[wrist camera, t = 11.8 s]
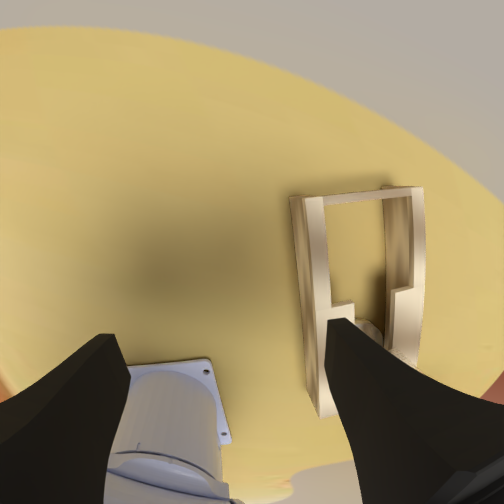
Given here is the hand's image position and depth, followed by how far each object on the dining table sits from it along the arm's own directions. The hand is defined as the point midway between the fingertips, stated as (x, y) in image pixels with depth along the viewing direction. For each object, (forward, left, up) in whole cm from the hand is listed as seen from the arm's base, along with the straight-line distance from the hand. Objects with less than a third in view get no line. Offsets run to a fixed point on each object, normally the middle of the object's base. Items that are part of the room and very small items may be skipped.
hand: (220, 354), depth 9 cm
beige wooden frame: (-3, -9, -11) cm, 15 cm away
